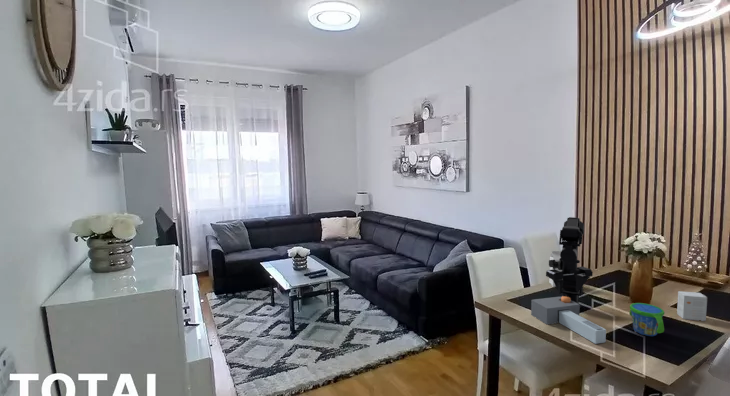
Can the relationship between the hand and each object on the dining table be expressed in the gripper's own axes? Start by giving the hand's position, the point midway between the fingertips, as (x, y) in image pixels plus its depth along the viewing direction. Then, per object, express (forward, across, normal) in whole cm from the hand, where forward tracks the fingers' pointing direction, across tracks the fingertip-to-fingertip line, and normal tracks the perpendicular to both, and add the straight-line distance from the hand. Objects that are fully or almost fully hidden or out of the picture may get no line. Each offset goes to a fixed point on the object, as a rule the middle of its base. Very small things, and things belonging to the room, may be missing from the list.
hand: (568, 292), depth 156 cm
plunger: (+7, -1, -3) cm, 8 cm away
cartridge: (+12, +4, +12) cm, 17 cm away
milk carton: (+12, -27, -38) cm, 48 cm away
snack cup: (+12, -20, +18) cm, 30 cm away
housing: (+12, +4, -3) cm, 13 cm away
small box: (+12, -51, +12) cm, 54 cm away
